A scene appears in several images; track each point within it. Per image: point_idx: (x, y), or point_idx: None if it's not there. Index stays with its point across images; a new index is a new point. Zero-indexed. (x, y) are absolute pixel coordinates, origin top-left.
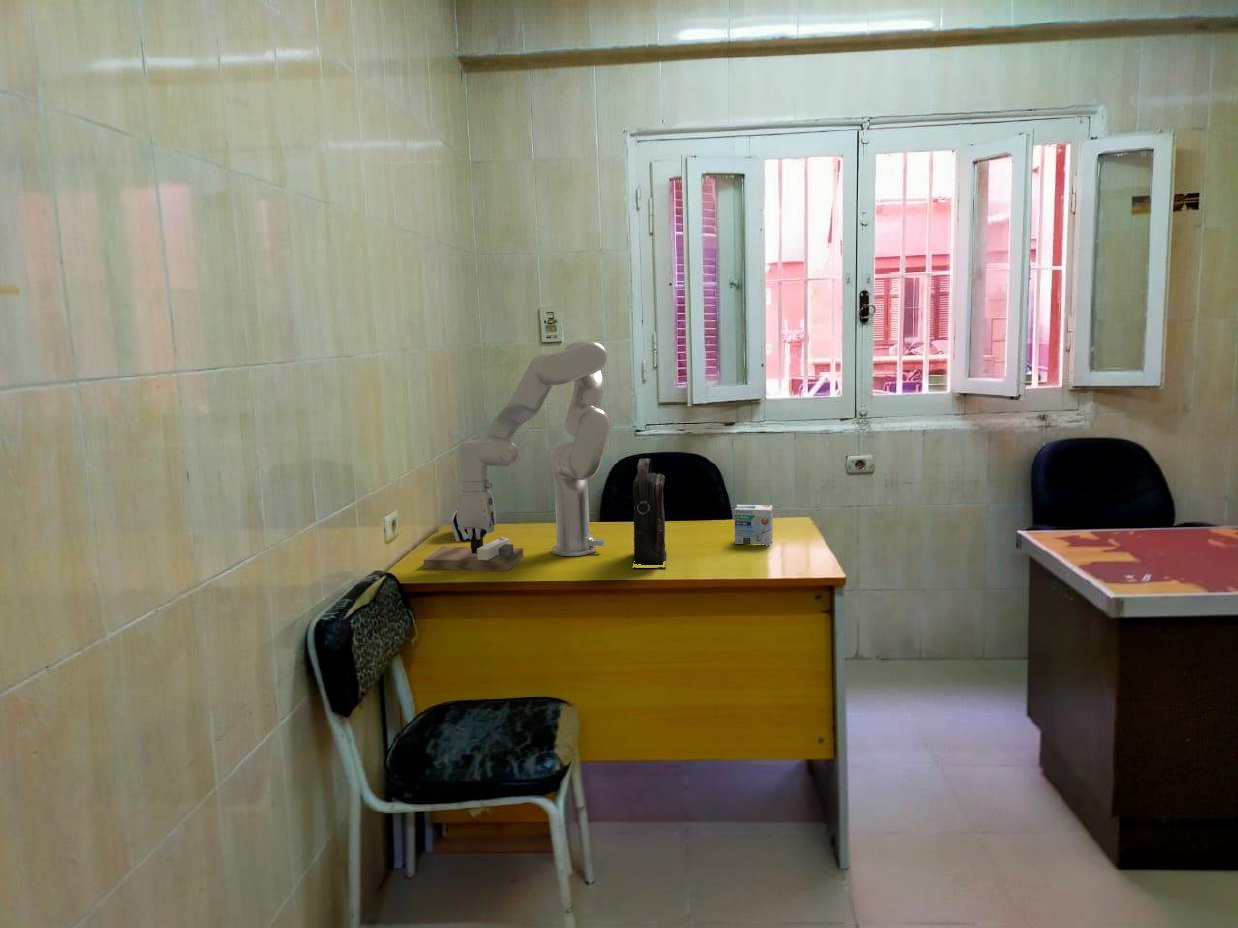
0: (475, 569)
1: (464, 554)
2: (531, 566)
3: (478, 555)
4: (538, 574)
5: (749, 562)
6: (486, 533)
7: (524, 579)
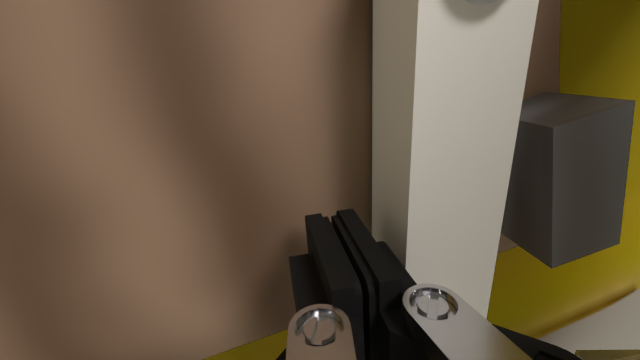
0: None
1: (181, 219)
2: (605, 97)
3: None
4: None
5: None
6: (529, 349)
7: (612, 281)
